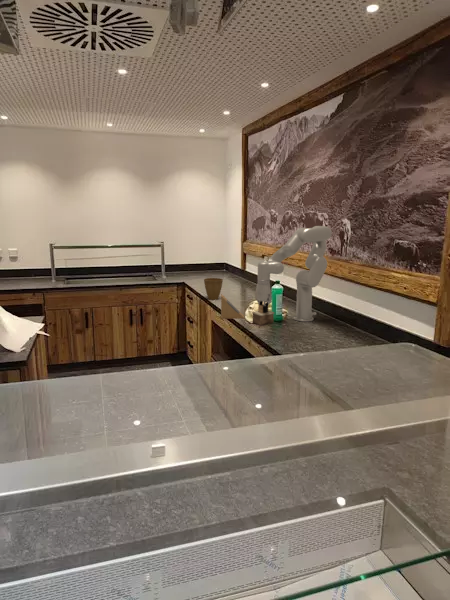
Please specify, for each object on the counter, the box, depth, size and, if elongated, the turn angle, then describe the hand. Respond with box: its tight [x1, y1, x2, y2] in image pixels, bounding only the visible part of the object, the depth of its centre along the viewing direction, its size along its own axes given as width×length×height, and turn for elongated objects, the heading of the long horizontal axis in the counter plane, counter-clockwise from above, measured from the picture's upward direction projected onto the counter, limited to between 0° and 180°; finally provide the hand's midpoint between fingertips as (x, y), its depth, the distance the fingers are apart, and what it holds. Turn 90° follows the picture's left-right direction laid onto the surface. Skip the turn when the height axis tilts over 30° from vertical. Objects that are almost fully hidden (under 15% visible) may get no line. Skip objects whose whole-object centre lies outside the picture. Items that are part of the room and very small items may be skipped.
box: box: [252, 313, 274, 326], centre depth 259 cm, size 10×8×6 cm
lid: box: [251, 303, 275, 316], centre depth 258 cm, size 11×9×6 cm
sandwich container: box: [220, 293, 245, 320], centre depth 274 cm, size 9×15×15 cm, turn 92°
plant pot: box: [203, 277, 224, 301], centre depth 332 cm, size 15×15×16 cm
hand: (263, 311), depth 259 cm, fingers closed on lid, 3 cm apart
